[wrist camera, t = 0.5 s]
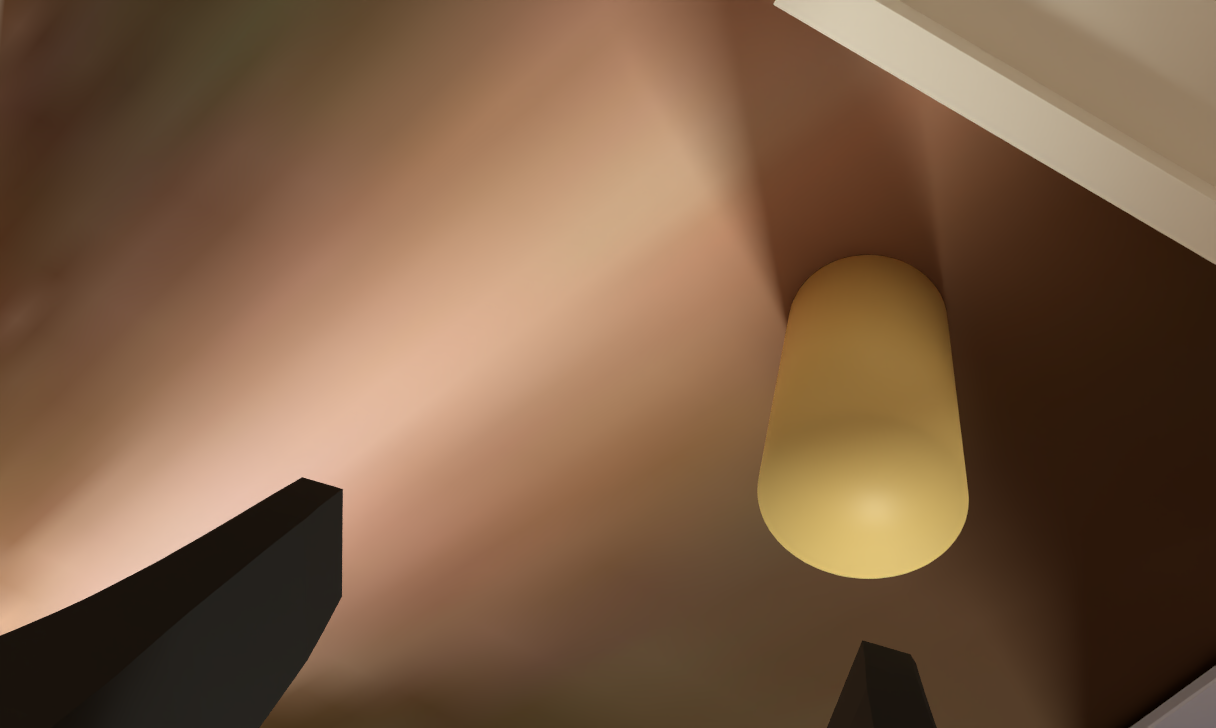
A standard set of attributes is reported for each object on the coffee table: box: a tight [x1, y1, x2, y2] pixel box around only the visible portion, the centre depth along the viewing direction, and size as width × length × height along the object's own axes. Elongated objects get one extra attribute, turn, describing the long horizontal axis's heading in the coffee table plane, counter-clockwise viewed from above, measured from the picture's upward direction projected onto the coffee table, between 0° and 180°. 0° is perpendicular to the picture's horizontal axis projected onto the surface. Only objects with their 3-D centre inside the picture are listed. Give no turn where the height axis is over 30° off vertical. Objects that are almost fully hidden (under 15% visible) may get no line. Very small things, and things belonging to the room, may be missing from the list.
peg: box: [757, 255, 969, 579], centre depth 18 cm, size 3×3×6 cm
